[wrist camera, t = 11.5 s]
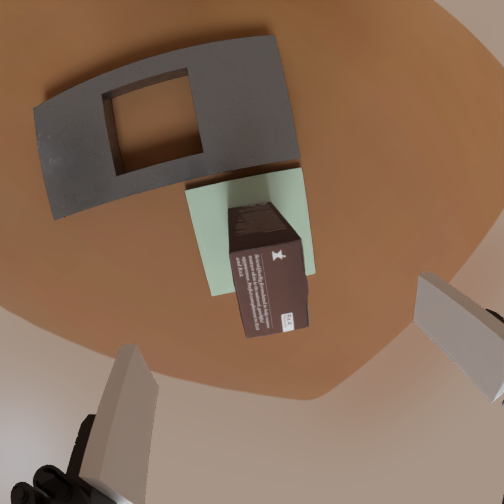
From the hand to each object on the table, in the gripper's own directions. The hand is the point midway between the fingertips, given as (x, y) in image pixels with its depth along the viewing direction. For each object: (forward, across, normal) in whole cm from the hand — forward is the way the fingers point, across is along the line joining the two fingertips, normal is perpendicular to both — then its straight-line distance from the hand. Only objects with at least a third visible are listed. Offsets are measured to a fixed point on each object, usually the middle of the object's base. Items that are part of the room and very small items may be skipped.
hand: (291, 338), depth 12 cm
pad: (+17, +1, 0) cm, 17 cm away
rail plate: (+17, -6, +12) cm, 22 cm away
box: (+17, 0, 0) cm, 17 cm away
